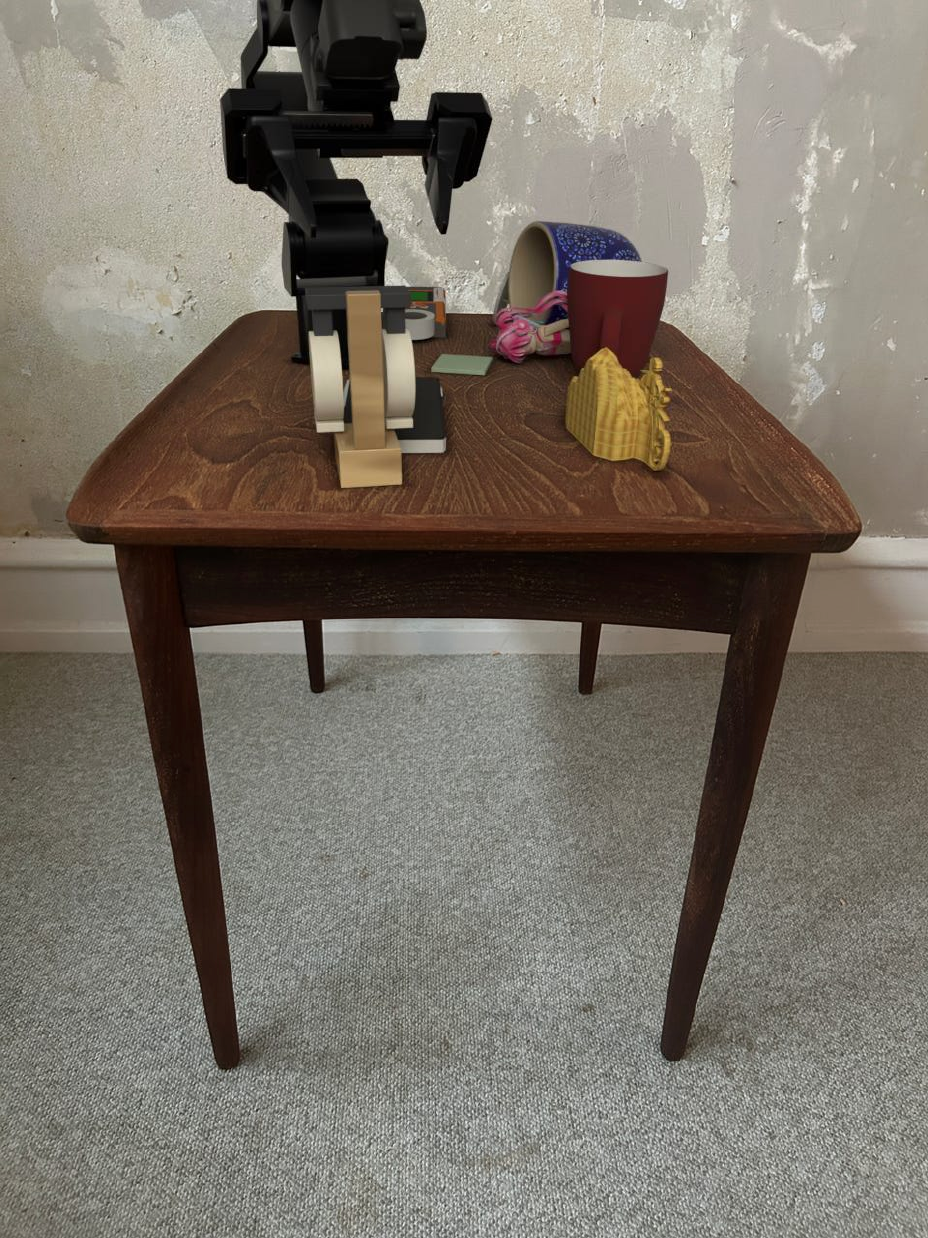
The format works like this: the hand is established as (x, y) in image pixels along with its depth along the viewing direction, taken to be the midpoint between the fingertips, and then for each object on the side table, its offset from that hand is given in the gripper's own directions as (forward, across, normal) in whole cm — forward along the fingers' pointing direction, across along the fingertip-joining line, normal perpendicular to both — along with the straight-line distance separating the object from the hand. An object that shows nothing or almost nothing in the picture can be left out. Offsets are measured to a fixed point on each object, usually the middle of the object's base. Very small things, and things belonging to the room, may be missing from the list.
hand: (380, 231), depth 60 cm
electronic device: (-15, +11, +31) cm, 36 cm away
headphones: (+12, -3, +4) cm, 13 cm away
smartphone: (+8, +1, +12) cm, 14 cm away
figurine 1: (-16, +20, +28) cm, 37 cm away
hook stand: (+15, -3, +5) cm, 16 cm away
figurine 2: (+16, +15, +5) cm, 22 cm away
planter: (-12, +31, +21) cm, 40 cm away
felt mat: (-2, +11, +20) cm, 23 cm away
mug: (+6, +20, +13) cm, 25 cm away
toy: (-3, +21, +20) cm, 30 cm away
